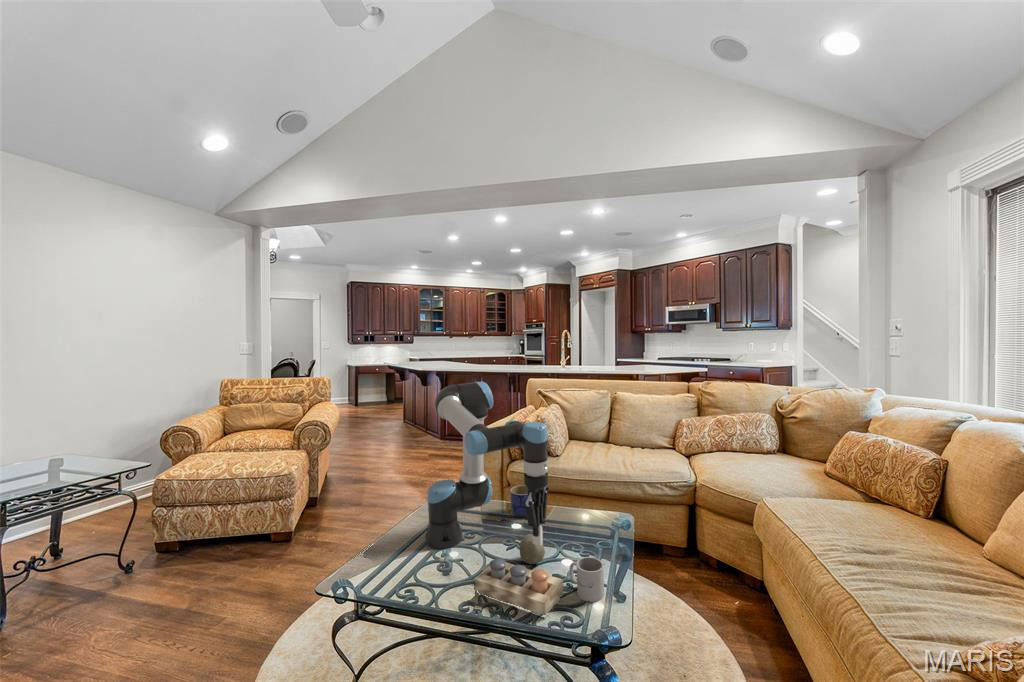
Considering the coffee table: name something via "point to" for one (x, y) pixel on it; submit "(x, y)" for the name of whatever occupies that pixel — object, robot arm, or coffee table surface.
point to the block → (519, 590)
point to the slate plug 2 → (518, 575)
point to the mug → (589, 578)
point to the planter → (518, 500)
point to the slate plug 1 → (497, 568)
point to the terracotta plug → (539, 581)
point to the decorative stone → (531, 550)
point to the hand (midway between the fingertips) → (537, 543)
